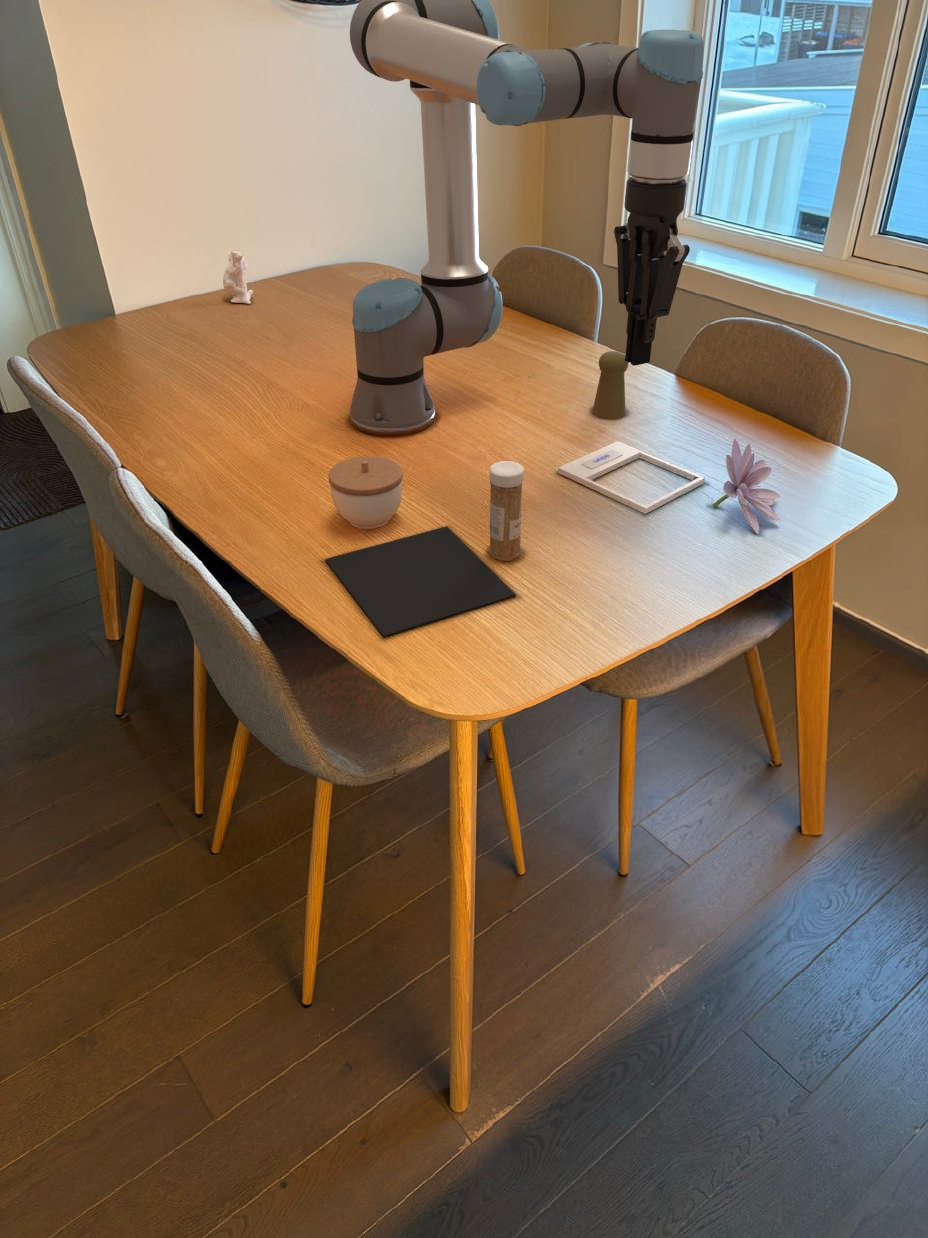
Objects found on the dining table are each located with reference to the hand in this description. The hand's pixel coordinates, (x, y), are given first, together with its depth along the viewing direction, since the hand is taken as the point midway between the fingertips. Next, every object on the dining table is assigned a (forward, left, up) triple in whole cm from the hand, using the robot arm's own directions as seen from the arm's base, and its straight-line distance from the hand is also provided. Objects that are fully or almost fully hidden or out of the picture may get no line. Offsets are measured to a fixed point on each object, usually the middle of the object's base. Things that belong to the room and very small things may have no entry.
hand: (637, 361), depth 130 cm
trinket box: (-14, -36, -23) cm, 45 cm away
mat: (+4, -36, -22) cm, 43 cm away
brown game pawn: (-29, +18, -23) cm, 41 cm away
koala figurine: (-124, -22, -23) cm, 128 cm away
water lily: (+12, +14, -23) cm, 29 cm away
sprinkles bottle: (+4, -23, -23) cm, 33 cm away
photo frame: (-6, +6, -22) cm, 24 cm away
